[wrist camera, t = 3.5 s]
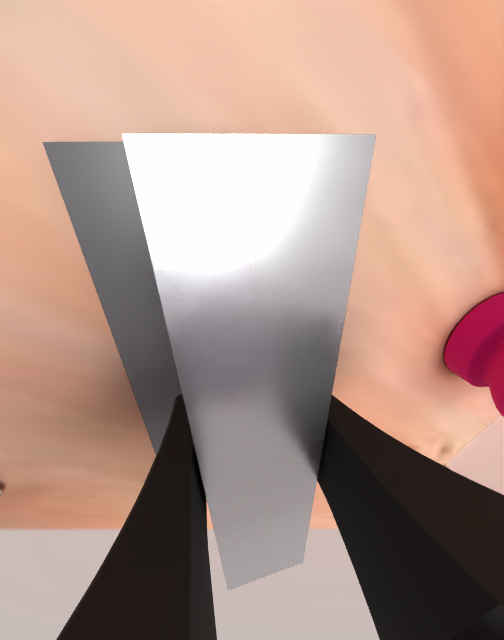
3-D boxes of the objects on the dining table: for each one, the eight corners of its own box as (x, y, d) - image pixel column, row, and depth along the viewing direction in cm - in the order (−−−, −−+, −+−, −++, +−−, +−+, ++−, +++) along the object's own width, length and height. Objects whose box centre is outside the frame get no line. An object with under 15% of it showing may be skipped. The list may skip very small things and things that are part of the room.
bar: (214, 475, 15) (227, 590, 11) (155, 162, 7) (121, 133, 3) (269, 460, 16) (302, 562, 12) (270, 160, 8) (376, 134, 4)
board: (169, 477, 16) (169, 490, 15) (55, 146, 7) (42, 142, 7) (303, 441, 17) (308, 452, 17) (336, 144, 9) (349, 140, 8)
